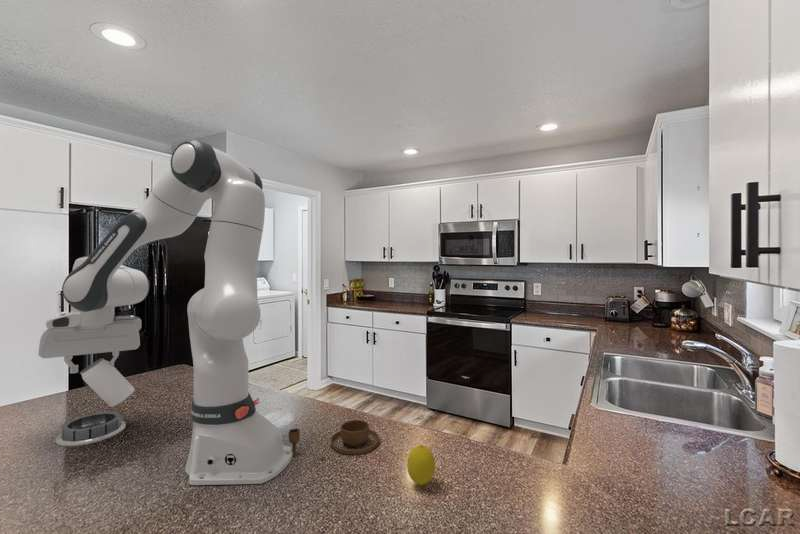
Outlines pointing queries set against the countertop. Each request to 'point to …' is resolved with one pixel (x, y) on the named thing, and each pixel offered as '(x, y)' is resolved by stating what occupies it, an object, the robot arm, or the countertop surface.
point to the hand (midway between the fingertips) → (92, 370)
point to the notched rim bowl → (90, 429)
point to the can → (107, 382)
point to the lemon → (421, 465)
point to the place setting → (345, 437)
